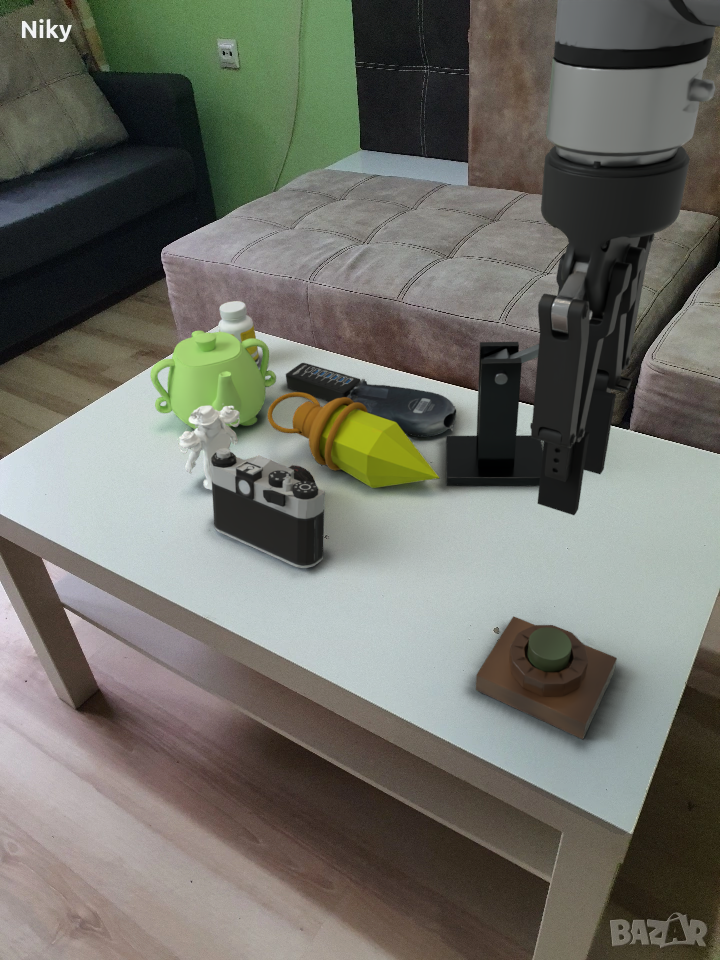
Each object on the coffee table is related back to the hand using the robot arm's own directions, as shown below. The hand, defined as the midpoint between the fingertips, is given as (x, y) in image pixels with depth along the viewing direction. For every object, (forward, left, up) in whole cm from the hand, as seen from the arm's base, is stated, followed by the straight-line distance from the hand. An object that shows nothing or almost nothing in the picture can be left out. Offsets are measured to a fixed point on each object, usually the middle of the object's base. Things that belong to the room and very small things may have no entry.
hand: (571, 485), depth 55 cm
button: (0, 0, -19) cm, 19 cm away
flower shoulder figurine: (+48, +5, -23) cm, 53 cm away
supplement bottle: (+72, -14, -23) cm, 76 cm away
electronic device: (+42, -20, -23) cm, 52 cm away
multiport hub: (+56, -18, -23) cm, 63 cm away
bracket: (+26, -22, -23) cm, 40 cm away
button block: (0, 0, -23) cm, 23 cm away
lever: (+21, -26, -8) cm, 34 cm away
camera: (+35, +4, -23) cm, 42 cm away
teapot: (+60, -3, -23) cm, 64 cm away
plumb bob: (+38, -9, -23) cm, 45 cm away
